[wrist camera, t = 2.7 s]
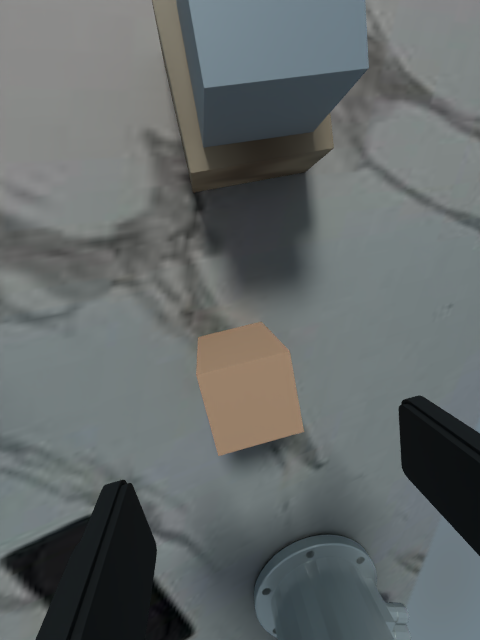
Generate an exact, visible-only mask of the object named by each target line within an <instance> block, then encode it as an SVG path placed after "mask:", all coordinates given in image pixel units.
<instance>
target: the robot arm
mask: <svg viewBox="0 0 480 640" xmlns="http://www.w3.org/2000/svg"><path fill="white" fill-rule="evenodd" d="M399 425H400V444H401V462H402V469H403V471H404V473H405V475H406V476H407V478H408V479H409V480H410V481H411V482H412V483H413V484H414V485H415V486H416V487H417V489H418V490H419V491H420V492H421V493H422V494H423V495H424V496H425V497H426V498H427V499H428V500H429V502H430V503H431V504H432V505H433V506H434V507H435V508H436V509H437V510H438V511H439V512H440V514H441V515H442V516H443V517H444V518H445V519H446V520H447V521H448V522H449V523H450V524H451V525H452V527H454V529H455V530H456V531H457V532H458V533H459V534H460V535H461V536H462V537H463V538H464V539H465V541H466V542H467V543H468V544H469V545H470V546H471V547H472V548H473V549H474V550H475V551H476V552H477V554H478V555H479V556H480V433H478V432H477V431H475V430H474V429H472V428H471V427H469V426H468V425H466V424H464V423H463V422H461V421H460V420H458V419H457V418H455V417H454V416H452V415H451V414H449V413H447V412H446V411H444V410H443V409H441V408H440V407H438V406H437V405H435V404H434V403H432V402H430V401H429V400H427V399H426V398H424V397H422V396H415V397H412V398H408V399H405V400H403V401H402V404H401V405H400V406H399ZM156 555H157V549H156V542H155V540H154V537H153V535H152V532H151V530H150V527H149V525H148V522H147V520H146V517H145V515H144V512H143V510H142V507H141V505H140V502H139V500H138V497H137V495H136V492H135V490H134V487H133V485H132V484H131V483H128V484H127V483H126V481H125V480H120V481H117V482H113V483H110V484H106V485H105V486H104V487H103V488H102V490H101V493H100V495H99V498H98V500H97V503H96V505H95V508H94V510H93V512H92V515H91V517H90V520H89V522H88V525H87V527H86V530H85V532H84V534H83V537H82V539H81V542H79V543H78V544H77V546H76V547H75V549H74V550H73V552H72V554H71V557H70V559H69V562H68V564H67V566H66V569H65V571H64V573H63V576H62V578H61V581H60V583H59V585H58V588H57V590H56V592H55V595H54V597H53V599H52V602H51V604H50V607H49V609H48V611H47V614H46V616H45V618H44V621H43V623H42V626H41V628H40V630H39V633H38V635H37V637H36V640H145V634H146V627H147V620H148V613H149V606H150V598H151V591H152V584H153V577H154V570H155V563H156ZM376 584H377V574H376V569H375V566H374V564H373V562H372V560H371V558H370V557H369V555H368V553H367V552H366V550H365V549H364V548H363V547H362V546H361V545H360V544H359V543H357V542H355V541H354V540H352V539H349V538H346V537H343V536H338V535H317V536H312V537H307V538H305V539H302V540H299V541H296V542H294V543H293V544H291V545H289V546H287V547H285V548H284V549H282V550H281V551H280V552H278V553H277V554H276V555H275V556H274V557H273V558H272V559H271V560H270V561H269V562H268V563H267V564H266V565H265V567H264V568H263V570H262V571H261V572H260V574H259V577H258V579H257V581H256V584H255V588H254V605H255V610H256V616H257V618H258V620H259V623H260V624H261V625H262V627H263V628H264V629H265V630H266V631H267V632H268V633H270V634H271V635H272V636H274V637H277V640H411V636H410V632H409V629H408V627H407V625H406V623H408V622H409V613H408V611H407V608H406V607H405V606H404V604H402V603H396V602H389V603H386V602H385V601H384V600H383V599H382V597H381V595H380V593H379V591H378V589H377V587H376Z"/></svg>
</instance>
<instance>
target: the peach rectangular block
mask: <svg viewBox="0 0 480 640" xmlns="http://www.w3.org/2000/svg"><path fill="white" fill-rule="evenodd" d="M196 376H197V379H198V383H199V387H200V390H201V394H202V397H203V401H204V405H205V408H206V412H207V416H208V419H209V423H210V427H211V430H212V434H213V437H214V441H215V445H216V448H217V452H218V456H220V455H224V454H227V453H231V452H234V451H238V450H241V449H245V448H248V447H252V446H255V445H259V444H262V443H266V442H270V441H273V440H277V439H280V438H284V437H287V436H291V435H294V434H298V433H301V432H304V429H303V423H302V418H301V412H300V407H299V401H298V395H297V390H296V384H295V378H294V373H293V367H292V362H291V356H290V351H289V350H288V349H287V348H286V347H285V346H284V345H283V344H282V343H281V342H280V341H279V340H278V339H277V337H276V336H275V335H274V334H273V333H272V332H271V331H270V330H269V329H268V328H267V327H266V326H265V325H264V324H263V323H262V322H258V323H254V324H250V325H246V326H242V327H238V328H234V329H230V330H226V331H222V332H217V333H213V334H209V335H205V336H201V337H198V351H197V371H196Z"/></svg>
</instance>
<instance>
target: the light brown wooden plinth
mask: <svg viewBox="0 0 480 640" xmlns="http://www.w3.org/2000/svg"><path fill="white" fill-rule="evenodd" d="M152 3H153V9H154V14H155V19H156V24H157V29H158V34H159V39H160V45H161V50H162V55H163V59H164V64H165V68H166V73H167V77H168V82H169V86H170V91H171V95H172V100H173V104H174V108H175V113H176V117H177V122H178V126H179V131H180V135H181V140H182V144H183V149H184V153H185V158H186V162H187V167H188V171H189V176H190V180H191V185H192V189H193V193H194V192H200V191H205V190H210V189H216V188H221V187H227V186H232V185H238V184H243V183H249V182H254V181H260V180H265V179H271V178H276V177H282V176H287V175H293V174H298V173H304V172H306V171H307V170H308V169H310V168H311V167H312V166H313V165H314V164H315V163H317V162H318V161H319V160H320V159H321V158H323V157H324V156H325V155H326V154H327V153H328V152H330V151H331V150H332V149H333V148H334V145H333V135H332V125H331V115H330V113H329V114H328V115H327V117H326V118H325V119H324V120H323V121H322V122H321V124H320V125H319V126H318V127H317V128H316V129H315V130H314V132H310V133H303V134H296V135H289V136H282V137H275V138H268V139H261V140H253V141H246V142H239V143H232V144H225V145H218V146H211V147H204V148H203V144H202V138H201V133H200V128H199V122H198V117H197V112H196V106H195V101H194V95H193V90H192V85H191V79H190V74H189V69H188V63H187V58H186V52H185V47H184V42H183V36H182V31H181V26H180V20H179V15H178V9H177V3H176V0H152Z"/></svg>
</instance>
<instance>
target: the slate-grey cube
mask: <svg viewBox="0 0 480 640" xmlns="http://www.w3.org/2000/svg"><path fill="white" fill-rule="evenodd" d="M176 3H177V9H178V15H179V20H180V26H181V31H182V36H183V42H184V47H185V52H186V58H187V63H188V69H189V74H190V79H191V85H192V90H193V95H194V101H195V106H196V112H197V117H198V122H199V128H200V133H201V138H202V144H203V148H204V147H211V146H218V145H225V144H232V143H239V142H246V141H253V140H261V139H268V138H275V137H282V136H289V135H296V134H303V133H310V132H314V130H315V129H316V128H317V127H318V126H319V125H320V124H321V122H322V121H323V120H324V119H325V118H326V117H327V115H328V114H329V113H330V112H331V111H332V110H333V109H334V107H335V106H336V105H337V104H338V103H339V102H340V101H341V99H342V98H343V97H344V96H345V95H346V94H347V92H348V91H349V90H350V89H351V88H352V87H353V86H354V84H355V83H356V82H357V81H358V80H359V79H360V78H361V76H362V75H363V74H364V73H365V72H366V71H367V69H368V68H369V66H368V46H367V27H366V7H365V0H176Z"/></svg>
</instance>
